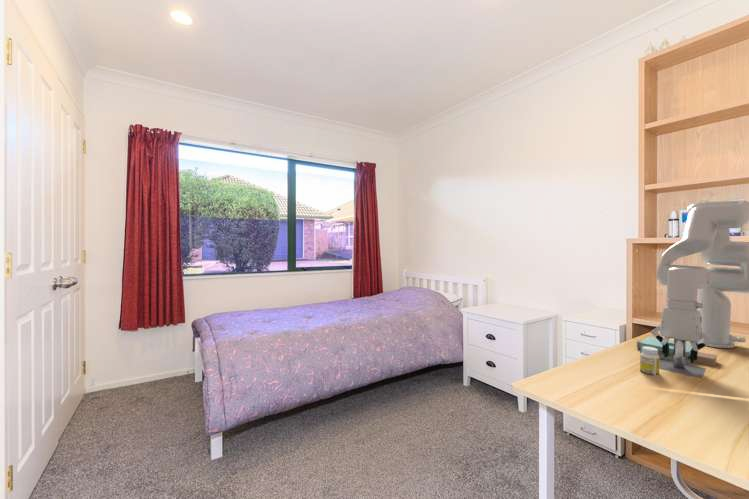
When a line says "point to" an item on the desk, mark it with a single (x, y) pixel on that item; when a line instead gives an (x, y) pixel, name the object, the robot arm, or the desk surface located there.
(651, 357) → the supplement bottle
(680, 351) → the steel pin
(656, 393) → the desk surface
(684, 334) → the robot arm
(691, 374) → the rubber mat
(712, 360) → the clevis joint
